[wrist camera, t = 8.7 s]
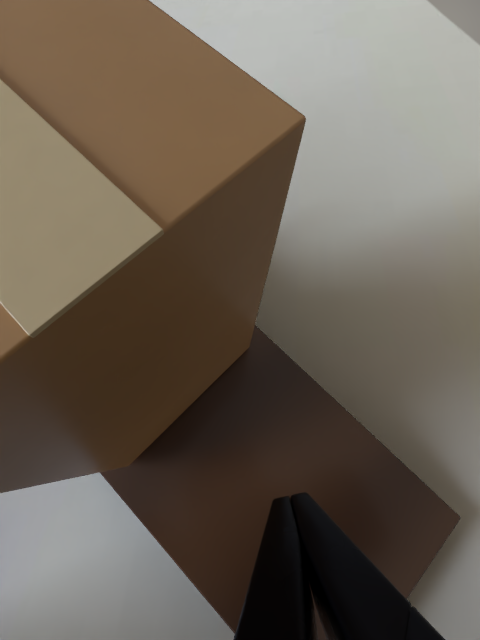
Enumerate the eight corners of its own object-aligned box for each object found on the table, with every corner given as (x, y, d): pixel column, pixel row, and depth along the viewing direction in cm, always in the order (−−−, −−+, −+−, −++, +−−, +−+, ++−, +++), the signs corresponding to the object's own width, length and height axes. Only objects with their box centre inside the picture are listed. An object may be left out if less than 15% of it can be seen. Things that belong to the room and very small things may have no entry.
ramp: (451, 516, 15) (541, 521, 10) (315, 718, 13) (336, 866, 8) (169, 274, 23) (133, 202, 18) (50, 374, 21) (-33, 326, 15)
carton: (294, 381, 15) (324, -12, 4) (167, 517, 13) (-552, 573, 2) (169, 274, 19) (-19, -108, 7) (54, 371, 17) (-456, 68, 5)
